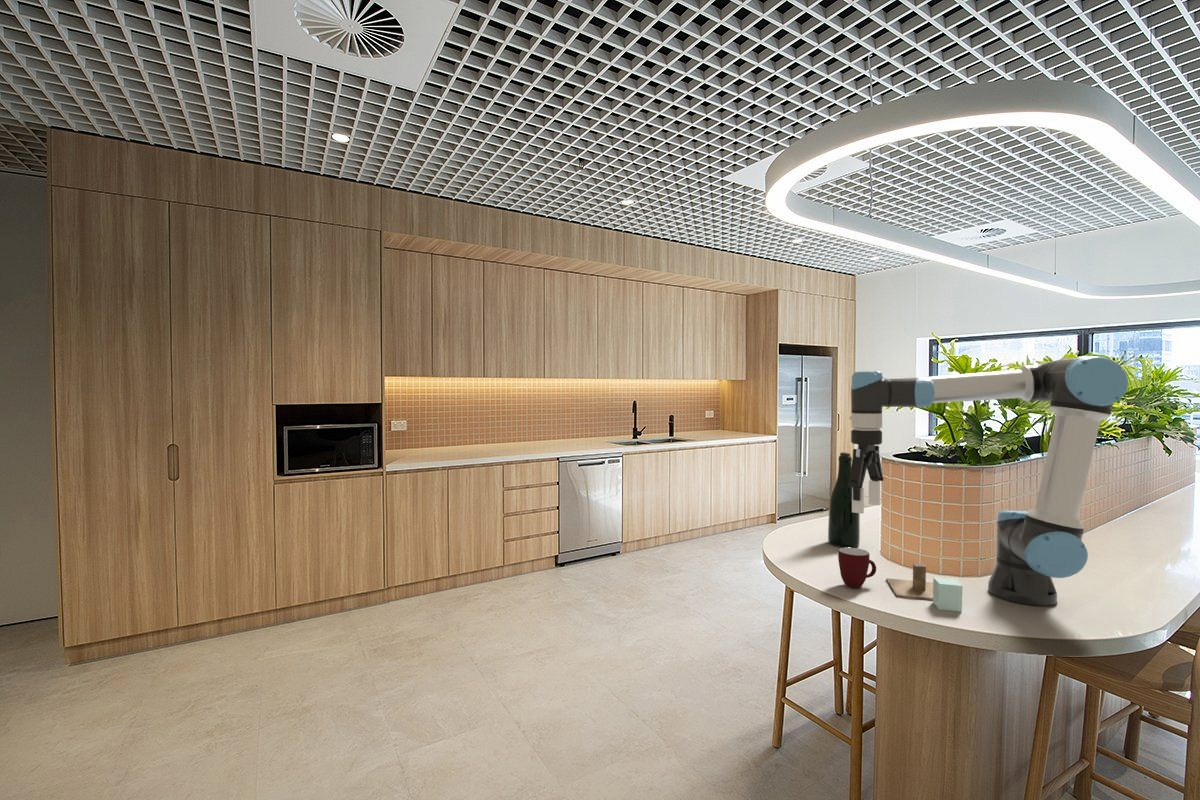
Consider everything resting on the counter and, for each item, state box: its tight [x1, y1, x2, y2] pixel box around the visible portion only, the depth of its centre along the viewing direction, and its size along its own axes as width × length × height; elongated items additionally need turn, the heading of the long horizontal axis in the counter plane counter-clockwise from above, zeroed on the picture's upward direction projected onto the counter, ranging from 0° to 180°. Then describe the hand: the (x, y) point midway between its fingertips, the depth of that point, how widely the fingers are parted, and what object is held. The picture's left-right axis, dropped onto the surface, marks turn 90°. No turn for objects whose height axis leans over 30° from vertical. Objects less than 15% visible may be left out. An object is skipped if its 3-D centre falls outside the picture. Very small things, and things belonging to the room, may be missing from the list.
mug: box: [837, 547, 877, 590], centre depth 164 cm, size 10×8×10 cm
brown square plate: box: [885, 562, 933, 601], centre depth 161 cm, size 14×14×7 cm
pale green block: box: [932, 577, 963, 613], centre depth 149 cm, size 5×5×7 cm
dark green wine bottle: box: [827, 451, 861, 548], centre depth 208 cm, size 10×10×33 cm
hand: (866, 508), depth 155 cm, fingers open, 13 cm apart
